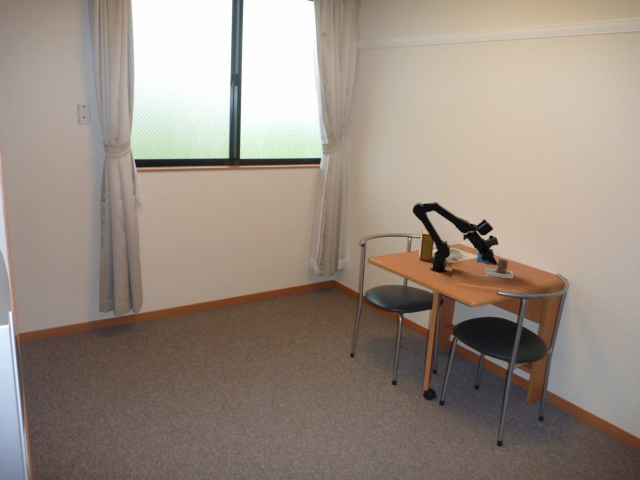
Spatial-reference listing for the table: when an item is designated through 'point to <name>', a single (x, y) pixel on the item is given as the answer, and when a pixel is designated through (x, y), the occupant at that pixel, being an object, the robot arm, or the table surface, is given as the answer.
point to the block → (502, 266)
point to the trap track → (494, 273)
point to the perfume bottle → (482, 260)
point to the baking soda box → (425, 246)
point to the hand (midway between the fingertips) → (496, 264)
